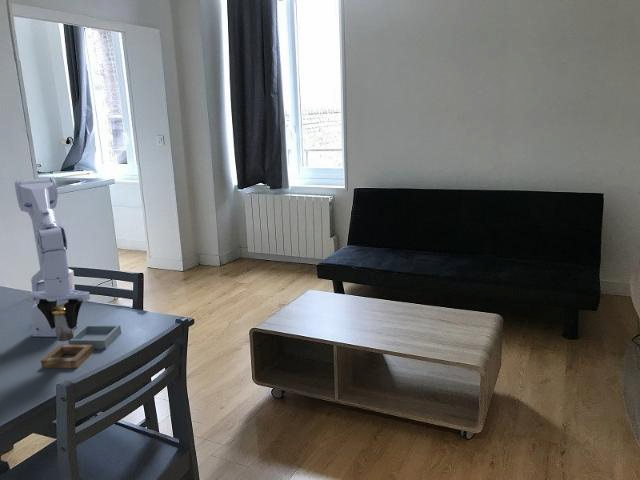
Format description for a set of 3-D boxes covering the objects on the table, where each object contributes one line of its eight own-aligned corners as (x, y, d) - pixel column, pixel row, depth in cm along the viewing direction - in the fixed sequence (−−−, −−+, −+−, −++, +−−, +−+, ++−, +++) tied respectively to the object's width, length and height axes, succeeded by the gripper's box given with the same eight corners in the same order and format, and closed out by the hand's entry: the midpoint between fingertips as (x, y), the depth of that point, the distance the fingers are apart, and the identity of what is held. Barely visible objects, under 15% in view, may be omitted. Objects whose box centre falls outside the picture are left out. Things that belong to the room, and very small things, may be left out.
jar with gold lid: (51, 341, 132) (47, 311, 130) (61, 333, 137) (57, 305, 135) (69, 341, 132) (65, 312, 130) (78, 334, 136) (74, 305, 134)
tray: (69, 348, 142) (68, 340, 141) (87, 333, 151) (86, 325, 151) (105, 349, 141) (104, 340, 141) (121, 333, 151) (120, 325, 150)
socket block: (42, 367, 132) (40, 360, 131) (60, 351, 140) (59, 344, 140) (77, 368, 131) (76, 360, 131) (94, 351, 140) (93, 344, 139)
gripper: (18, 281, 127) (26, 333, 130) (77, 281, 126) (84, 334, 129) (35, 272, 133) (42, 322, 137) (91, 272, 133) (97, 322, 136)
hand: (64, 327), depth 133 cm, fingers closed on jar with gold lid, 4 cm apart
